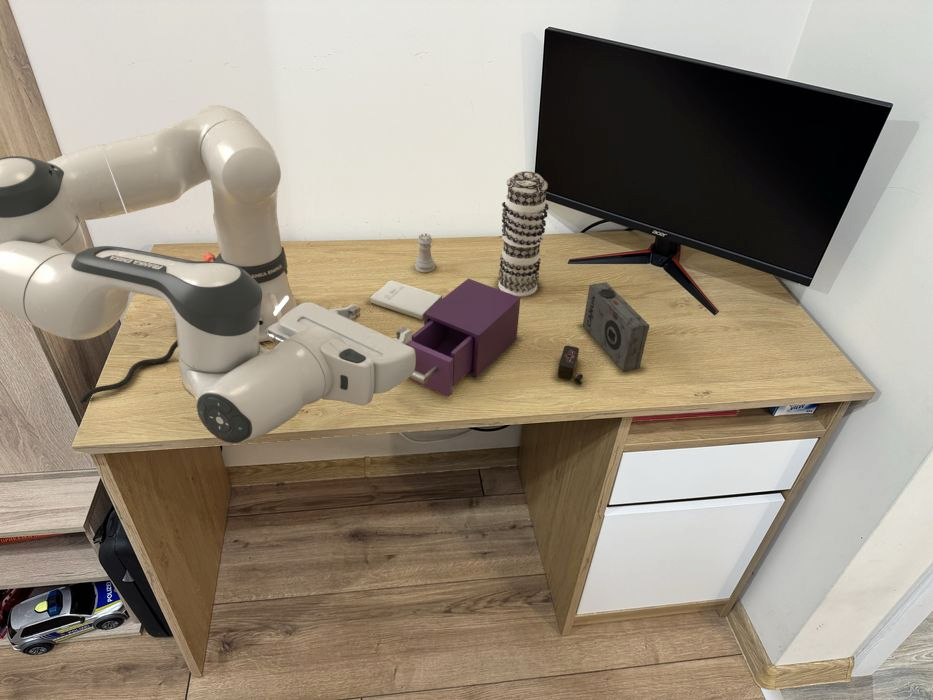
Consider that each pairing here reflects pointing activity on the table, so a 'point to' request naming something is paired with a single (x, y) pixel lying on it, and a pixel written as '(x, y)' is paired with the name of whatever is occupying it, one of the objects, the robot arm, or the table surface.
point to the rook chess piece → (424, 255)
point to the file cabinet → (480, 319)
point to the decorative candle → (522, 233)
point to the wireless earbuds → (569, 364)
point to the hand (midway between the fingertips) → (381, 321)
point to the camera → (615, 326)
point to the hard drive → (405, 299)
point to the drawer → (441, 356)
